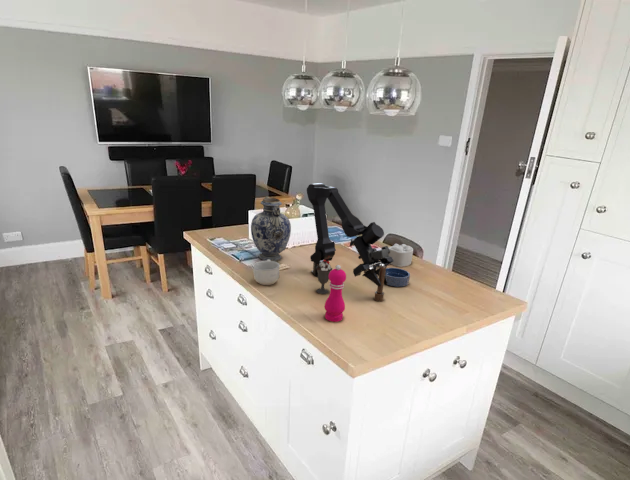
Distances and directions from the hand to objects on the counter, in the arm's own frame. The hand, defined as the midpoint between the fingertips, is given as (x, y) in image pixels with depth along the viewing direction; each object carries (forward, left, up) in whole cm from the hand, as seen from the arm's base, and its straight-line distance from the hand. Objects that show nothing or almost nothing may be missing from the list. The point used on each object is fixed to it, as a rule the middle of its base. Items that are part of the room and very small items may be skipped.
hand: (383, 284), depth 162 cm
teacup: (-41, +26, -7) cm, 49 cm away
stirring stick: (-1, +1, -7) cm, 7 cm away
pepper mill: (-24, -11, -7) cm, 27 cm away
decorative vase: (-34, +55, -7) cm, 65 cm away
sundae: (-21, +12, -7) cm, 25 cm away
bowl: (+14, +17, -7) cm, 24 cm away
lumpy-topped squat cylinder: (+29, +41, -7) cm, 51 cm away
